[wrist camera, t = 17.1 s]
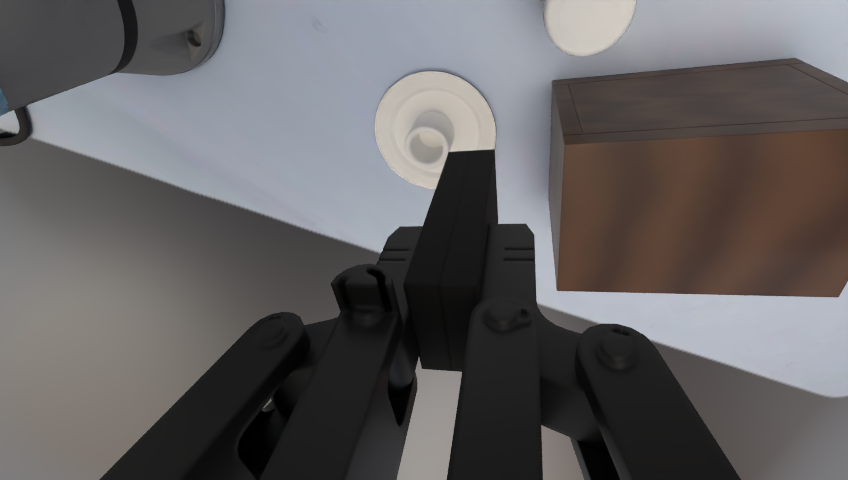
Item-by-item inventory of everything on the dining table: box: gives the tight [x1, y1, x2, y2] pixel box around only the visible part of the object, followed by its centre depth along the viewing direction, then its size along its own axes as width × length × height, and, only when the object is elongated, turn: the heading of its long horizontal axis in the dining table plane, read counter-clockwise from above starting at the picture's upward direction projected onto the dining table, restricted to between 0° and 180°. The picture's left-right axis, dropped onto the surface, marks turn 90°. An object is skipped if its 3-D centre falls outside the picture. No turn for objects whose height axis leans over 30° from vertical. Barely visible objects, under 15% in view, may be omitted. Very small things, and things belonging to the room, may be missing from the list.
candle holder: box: [375, 71, 496, 189], centre depth 39 cm, size 12×12×4 cm
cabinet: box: [549, 58, 848, 297], centre depth 32 cm, size 18×12×14 cm, turn 98°
